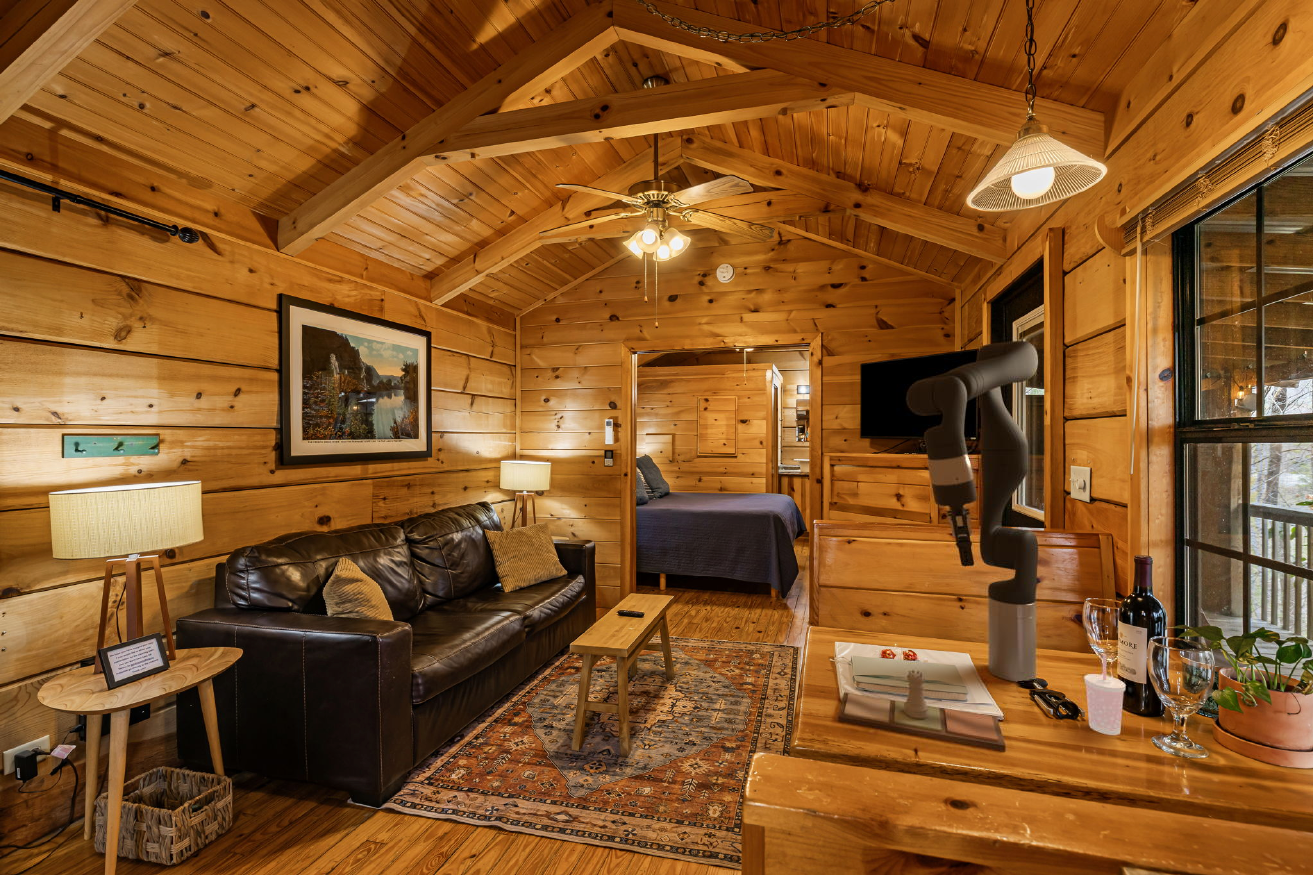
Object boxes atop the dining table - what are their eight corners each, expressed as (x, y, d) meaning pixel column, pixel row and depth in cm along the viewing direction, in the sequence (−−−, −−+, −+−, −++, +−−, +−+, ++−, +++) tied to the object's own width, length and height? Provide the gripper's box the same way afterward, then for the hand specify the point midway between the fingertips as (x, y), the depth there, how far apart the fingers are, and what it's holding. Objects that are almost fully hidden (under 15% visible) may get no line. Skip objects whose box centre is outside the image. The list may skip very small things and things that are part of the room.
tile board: (844, 696, 123) (844, 690, 123) (996, 721, 112) (996, 714, 112) (838, 721, 113) (838, 714, 113) (1005, 751, 102) (1005, 743, 102)
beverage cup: (1083, 717, 113) (1083, 645, 113) (1124, 726, 110) (1124, 652, 109) (1084, 730, 108) (1084, 655, 108) (1126, 740, 105) (1126, 663, 104)
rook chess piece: (931, 720, 110) (931, 678, 110) (906, 718, 111) (906, 677, 111) (925, 709, 114) (925, 668, 114) (901, 707, 115) (901, 667, 115)
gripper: (975, 483, 106) (991, 569, 107) (971, 468, 119) (985, 545, 120) (930, 489, 110) (946, 572, 111) (930, 473, 122) (945, 548, 123)
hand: (966, 558), depth 115 cm, fingers open, 8 cm apart
